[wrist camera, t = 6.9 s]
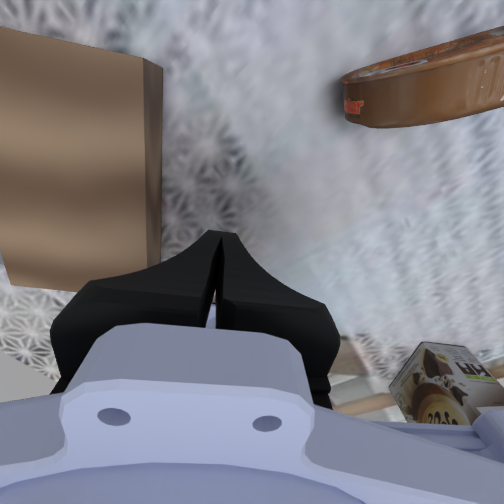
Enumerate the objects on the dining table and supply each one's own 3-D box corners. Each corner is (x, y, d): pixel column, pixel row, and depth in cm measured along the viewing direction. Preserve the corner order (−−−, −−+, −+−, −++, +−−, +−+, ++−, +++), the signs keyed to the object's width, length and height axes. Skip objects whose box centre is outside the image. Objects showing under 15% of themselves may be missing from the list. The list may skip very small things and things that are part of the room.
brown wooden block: (160, 272, 24) (147, 299, 21) (45, 258, 23) (11, 285, 20) (162, 67, 17) (142, 58, 13) (-9, 31, 16) (-80, 9, 12)
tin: (559, 9, 16) (821, -70, 9) (544, 68, 18) (758, 42, 11) (322, 78, 18) (382, 59, 10) (327, 128, 19) (382, 142, 12)
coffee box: (419, 340, 31) (572, 538, 17) (467, 346, 32) (651, 539, 18) (386, 388, 35) (484, 577, 21) (428, 391, 36) (551, 575, 22)
